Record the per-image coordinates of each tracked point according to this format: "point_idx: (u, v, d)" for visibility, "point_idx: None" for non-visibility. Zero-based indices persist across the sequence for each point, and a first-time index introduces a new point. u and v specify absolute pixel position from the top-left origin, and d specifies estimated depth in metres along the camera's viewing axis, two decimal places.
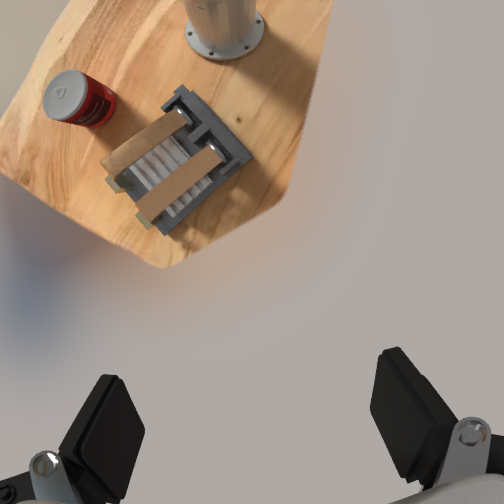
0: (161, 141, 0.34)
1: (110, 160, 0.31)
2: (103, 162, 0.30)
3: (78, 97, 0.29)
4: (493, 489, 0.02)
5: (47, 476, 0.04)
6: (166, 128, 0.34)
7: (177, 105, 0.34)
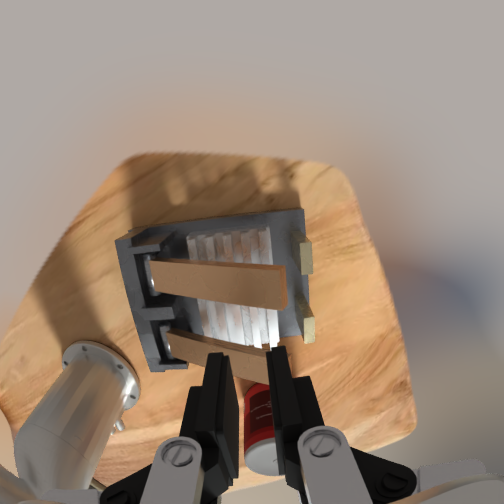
0: (204, 340, 0.24)
1: None
2: None
3: (265, 448, 0.25)
4: (493, 489, 0.02)
5: (175, 463, 0.06)
6: (190, 348, 0.25)
7: (167, 356, 0.27)
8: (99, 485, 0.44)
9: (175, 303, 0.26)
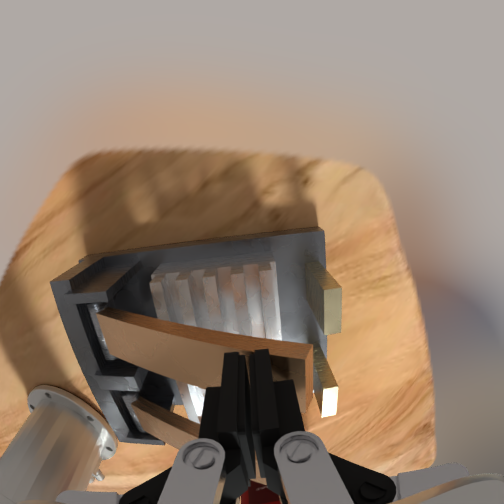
0: (181, 425, 0.15)
1: None
2: None
3: None
4: (493, 489, 0.02)
5: (196, 465, 0.06)
6: (163, 429, 0.15)
7: (138, 428, 0.18)
8: None
9: (140, 368, 0.17)
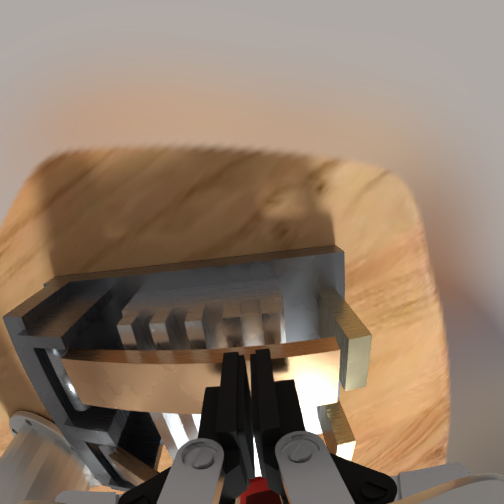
0: None
1: None
2: None
3: None
4: (493, 489, 0.02)
5: (195, 465, 0.06)
6: None
7: (120, 476, 0.13)
8: None
9: (116, 419, 0.12)
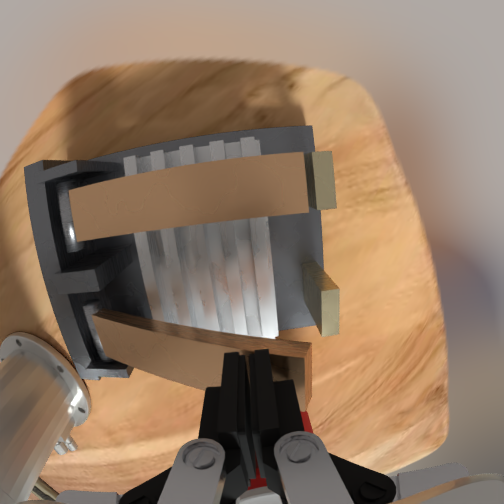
0: (147, 325, 0.13)
1: None
2: (300, 404, 0.10)
3: (257, 499, 0.14)
4: (493, 489, 0.02)
5: (196, 465, 0.06)
6: (126, 340, 0.14)
7: (100, 356, 0.15)
8: None
9: (105, 267, 0.15)
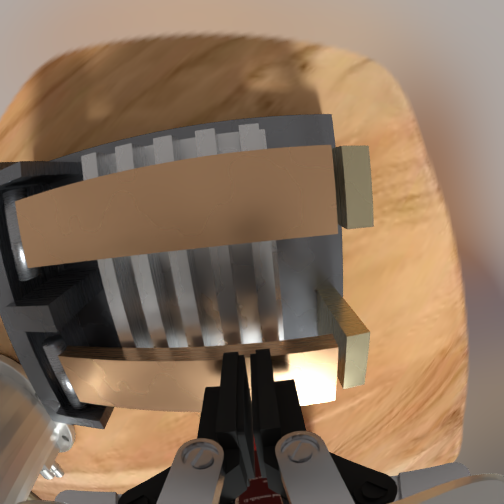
0: (141, 356, 0.11)
1: (311, 390, 0.11)
2: (330, 394, 0.11)
3: None
4: (493, 489, 0.02)
5: (195, 464, 0.06)
6: (114, 378, 0.11)
7: (72, 403, 0.11)
8: None
9: (65, 299, 0.11)
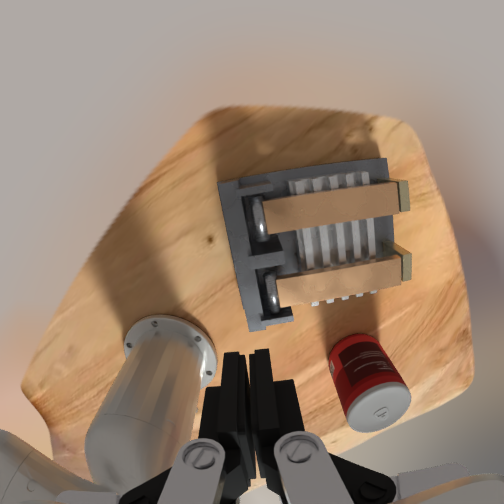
0: (323, 270, 0.26)
1: (391, 279, 0.26)
2: (399, 281, 0.26)
3: (370, 398, 0.25)
4: (493, 489, 0.02)
5: (196, 465, 0.06)
6: (308, 285, 0.26)
7: (274, 310, 0.27)
8: None
9: None
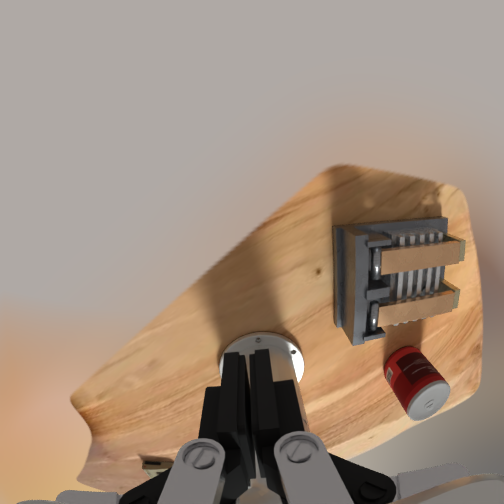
0: (408, 300, 0.33)
1: (447, 307, 0.33)
2: (451, 308, 0.33)
3: (426, 392, 0.32)
4: (493, 489, 0.02)
5: (196, 465, 0.06)
6: (398, 311, 0.33)
7: (373, 329, 0.33)
8: None
9: None
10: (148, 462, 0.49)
